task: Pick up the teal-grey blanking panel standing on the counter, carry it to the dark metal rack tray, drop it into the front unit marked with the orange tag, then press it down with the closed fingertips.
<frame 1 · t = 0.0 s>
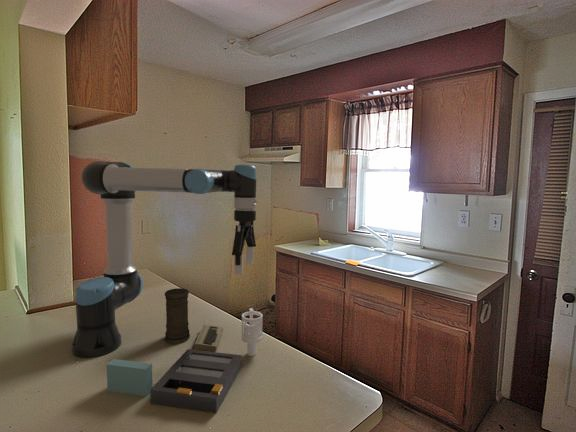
hand: (244, 268, 124), 28 cm above the worktop, fingers open, 13 cm apart
computer: (208, 342, 129), on the worktop
white ringed cylinder: (251, 354, 120), on the worktop
rack: (200, 383, 102), on the worktop
panel: (130, 390, 99), on the worktop
container: (177, 338, 130), on the worktop
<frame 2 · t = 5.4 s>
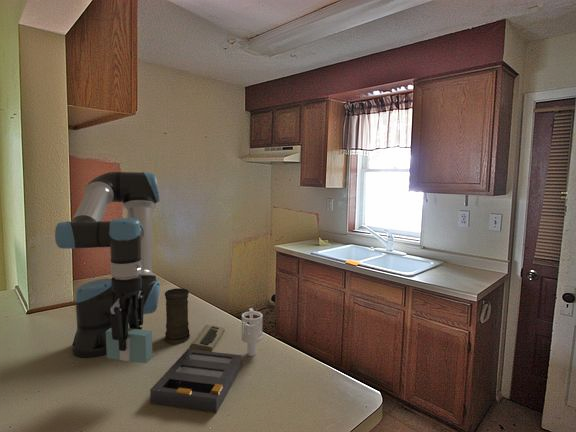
hand: (129, 356, 98), 10 cm above the worktop, fingers closed on panel, 3 cm apart
panel: (129, 357, 98), point 9 cm above the worktop, touching gripper
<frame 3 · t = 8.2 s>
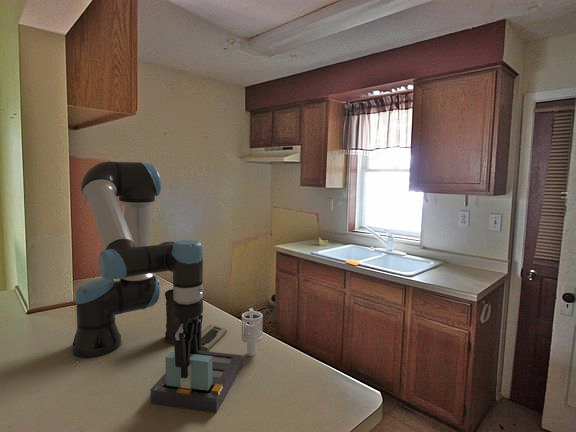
hand: (189, 383, 94), 5 cm above the worktop, fingers closed on panel, 3 cm apart
panel: (189, 384, 94), point 4 cm above the worktop, touching gripper
when the fingers open (5 cm above the worktop, at t = 8.7 s): panel drops 3 cm, resting on rack.
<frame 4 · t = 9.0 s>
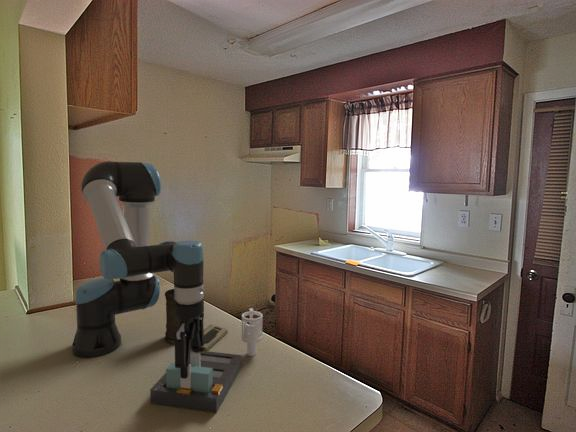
hand: (190, 380, 96), 5 cm above the worktop, fingers open, 5 cm apart
panel: (189, 396, 95), point 1 cm above the worktop, touching rack
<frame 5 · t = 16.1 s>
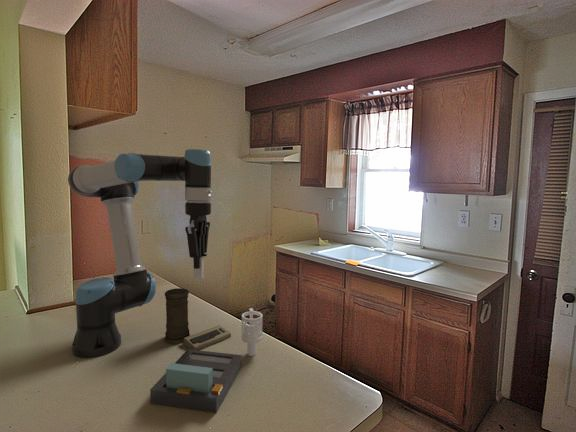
hand: (198, 277, 107), 29 cm above the worktop, fingers closed
at the end: panel 0.1 cm from the target spot on the rack, point 1.0 cm above the rack's base; panel tilted 0°; the gripper is holding nothing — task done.
